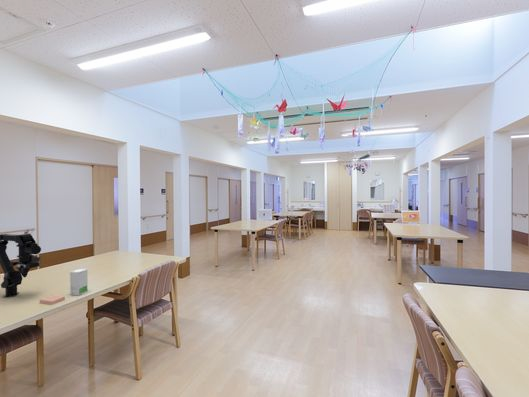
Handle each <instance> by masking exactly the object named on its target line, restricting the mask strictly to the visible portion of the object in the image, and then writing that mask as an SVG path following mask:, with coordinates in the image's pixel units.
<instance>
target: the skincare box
mask: <svg viewBox="0 0 529 397" xmlns="http://www.w3.org/2000/svg"><path fill="white" fill-rule="evenodd" d="M69 275H70V276H69V277H70V278H69V279H70V280H69V281H70V282H69V283H70V286H69V287H70V288H69V290H70V291H69V292H70V296H80V295H82V294H85V293H87V292H88V288H89V287H88V268H78V269H75V270H72V271H70V272H69Z"/></svg>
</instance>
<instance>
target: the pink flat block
mask: <svg viewBox="0 0 529 397" xmlns="http://www.w3.org/2000/svg"><path fill="white" fill-rule="evenodd" d="M65 300H66V297H65V296H64V295H62V296H61V295H56V294H53V295H52V294H51V295H50V296H46V297H44V298H41V299H39V304H43V305H50V306H53V305H56V304H58V303H60V302H62V301H65Z"/></svg>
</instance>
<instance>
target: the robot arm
mask: <svg viewBox="0 0 529 397" xmlns="http://www.w3.org/2000/svg"><path fill="white" fill-rule="evenodd" d="M9 242H14V243H15V244H16V245H15V246H16V247H18V255H16V258H18V260H12V261H11V260H10V258H9V255H8V253H7V247H8V246H7V245H8V243H9ZM41 251H42V248H41V246H40V245H39V244H38V242H36V240H35V239H34V237H33V235H32V234H31V233H24V234H9V233H1V234H0V267H1V269H2V270H3V273H4V276H3V281H2V283H0V288H1V289H5V290H4V291H5V292H4V293H5V294H4V296H3V298H5V299H6V298H9V297H10V298H11V297H17V296H18V295H19V294H20V292H19V291H18V286H19V285H22V281H23V278H26V277H28V273H29V271H30V270H31V269H32V268H36V267H37V268H39V267H40V266H41V265H40V264H41V263H40V260H41V257H39V256H35V255H38V254H39V253H41ZM15 266H16V267H15ZM14 267H15V268H16V269H17V270H16V269H15V268H14Z"/></svg>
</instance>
